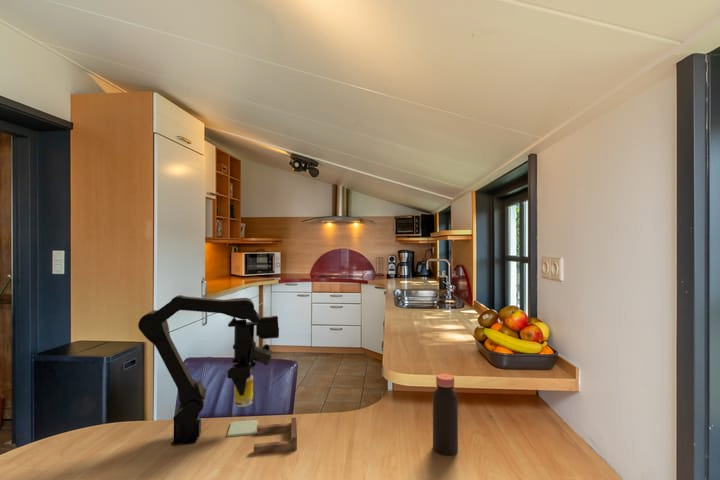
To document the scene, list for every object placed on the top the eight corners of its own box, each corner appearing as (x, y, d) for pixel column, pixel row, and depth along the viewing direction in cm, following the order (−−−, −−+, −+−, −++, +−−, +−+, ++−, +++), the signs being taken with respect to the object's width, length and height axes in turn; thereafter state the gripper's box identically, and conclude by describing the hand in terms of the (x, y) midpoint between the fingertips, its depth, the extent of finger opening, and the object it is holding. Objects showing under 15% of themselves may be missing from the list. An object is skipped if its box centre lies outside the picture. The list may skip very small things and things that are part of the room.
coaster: (227, 436, 109) (227, 434, 109) (231, 423, 117) (231, 422, 117) (255, 434, 110) (255, 432, 110) (257, 421, 118) (257, 419, 118)
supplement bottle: (255, 404, 112) (256, 370, 112) (237, 409, 108) (238, 374, 109) (249, 398, 116) (249, 365, 116) (231, 402, 113) (231, 369, 113)
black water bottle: (428, 445, 104) (428, 374, 105) (447, 440, 107) (447, 371, 107) (442, 458, 98) (442, 382, 98) (463, 452, 101) (462, 378, 101)
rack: (253, 454, 100) (253, 441, 100) (257, 432, 111) (257, 420, 111) (296, 450, 102) (296, 437, 102) (296, 428, 113) (296, 417, 114)
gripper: (268, 347, 105) (267, 402, 104) (273, 332, 123) (273, 379, 123) (227, 348, 103) (226, 405, 103) (239, 333, 121) (238, 381, 121)
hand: (243, 391), depth 112 cm, fingers closed on supplement bottle, 5 cm apart
